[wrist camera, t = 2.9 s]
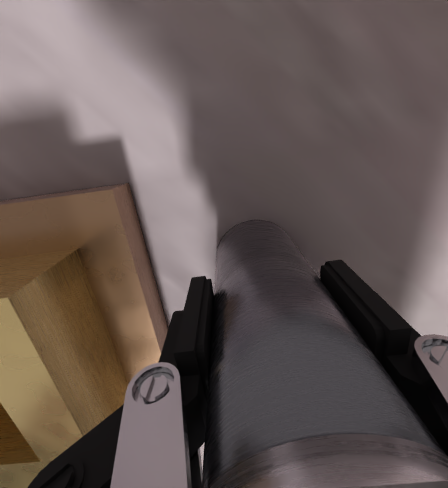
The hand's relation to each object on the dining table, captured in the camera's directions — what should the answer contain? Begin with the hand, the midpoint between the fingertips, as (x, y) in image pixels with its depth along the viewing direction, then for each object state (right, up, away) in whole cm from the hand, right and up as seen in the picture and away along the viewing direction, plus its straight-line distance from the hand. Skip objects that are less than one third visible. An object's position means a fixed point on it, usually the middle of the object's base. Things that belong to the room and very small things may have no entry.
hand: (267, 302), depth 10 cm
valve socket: (-13, -3, +6) cm, 15 cm away
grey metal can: (0, +2, +4) cm, 4 cm away
